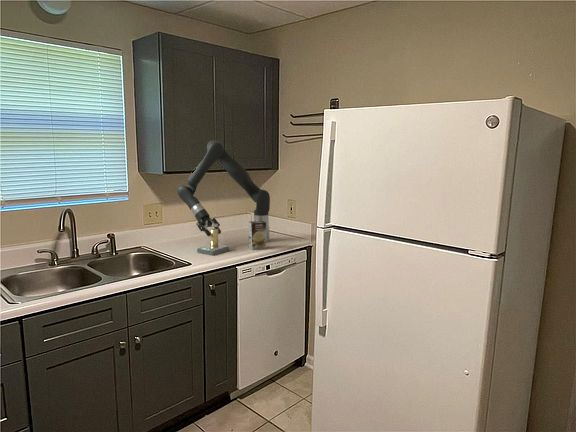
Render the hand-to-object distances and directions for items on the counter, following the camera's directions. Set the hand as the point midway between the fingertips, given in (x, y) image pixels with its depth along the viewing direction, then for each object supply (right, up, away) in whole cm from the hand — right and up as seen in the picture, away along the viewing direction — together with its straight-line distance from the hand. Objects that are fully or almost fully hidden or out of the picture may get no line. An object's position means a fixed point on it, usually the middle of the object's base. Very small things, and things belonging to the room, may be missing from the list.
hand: (215, 234), depth 252 cm
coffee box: (+24, -9, +10) cm, 27 cm away
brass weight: (-1, -7, +2) cm, 7 cm away
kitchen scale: (-1, -10, +1) cm, 10 cm away
